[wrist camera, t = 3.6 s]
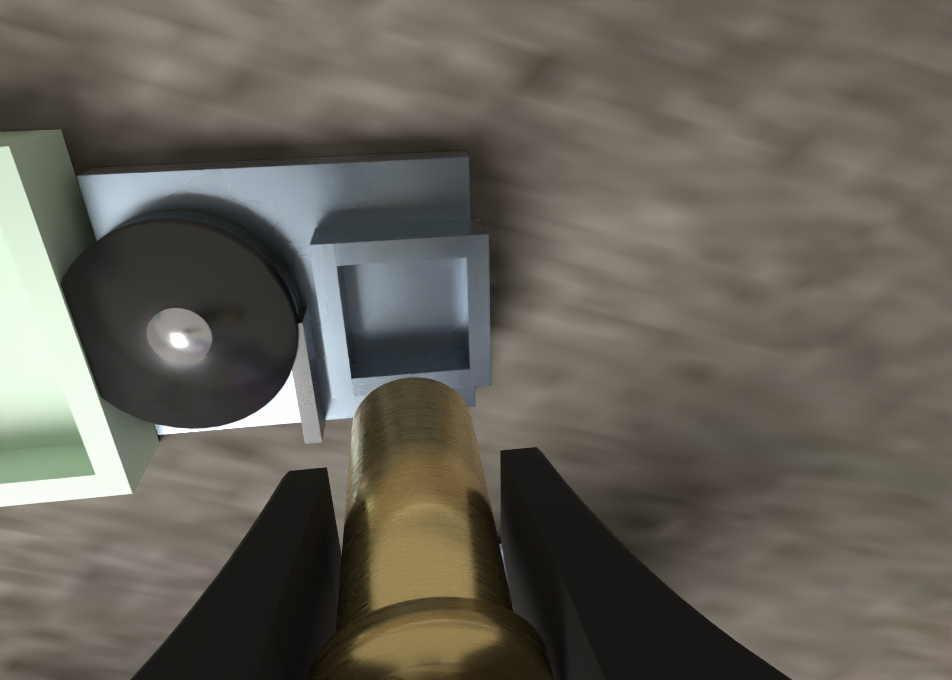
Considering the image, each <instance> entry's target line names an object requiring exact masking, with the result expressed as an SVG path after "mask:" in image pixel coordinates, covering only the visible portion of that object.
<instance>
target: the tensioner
mask: <svg viewBox="0 0 952 680" xmlns="http://www.w3.org/2000/svg"><path fill="white" fill-rule="evenodd" d="M77 179H78V182H79V185H80V189H81V192H82V195H83V198H84V201H85V205H86V208H87V211H88V214H89V217H90V220H91V224H92V227H93V230H94V233H95V236H96V240H97V241H96V242H95V243H93V244H92V245H91V246H89V247H88V248H87V249H86V250H85V251H83V252H82V253H81V254H80V255H79V256H78V257H77V258H76V259H75V261H74V262H73V263H72V264H71V265H70V267H69V268H68V270H67V272H66V273H65V275H64V277H63V279H62V281H61V284H60V285H61V288H62V290H63V293H64V296H65V299H66V302H67V305H68V307H69V310H70V313H71V316H72V319H73V322H74V324H75V327H76V330H77V333H78V336H79V338H80V341H81V344H82V347H83V350H84V353H85V355H86V358H87V361H88V364H89V367H90V370H91V372H92V375H93V378H94V381H95V384H96V387H97V389H98V392H99V395H100V397H102V398H103V399H104V400H105V401H107V402H108V403H110V404H111V405H113V406H115V407H116V408H118V409H119V410H121V411H123V412H125V413H128V414H130V415H132V416H134V417H136V418H139V419H142V420H144V421H147V422H150V423H154V424H155V428H156V431H157V434H158V435H162V434H173V433H184V432H195V431H207V430H218V429H229V428H240V427H252V426H263V425H274V424H285V423H297V422H301V423H302V429H303V434H304V440H305V444H309V443H320V442H322V440H323V433H324V427H325V420H330V419H342V418H353V417H354V415H355V413H356V410H357V408H358V407H359V405H360V403H361V402H362V401H363V400H364V399H365V397H366V396H367V395H369V394H370V393H371V392H372V391H373V390H375V389H376V388H378V387H380V386H381V385H383V384H385V383H388V382H390V381H393V380H397V379H401V378H408V377H420V378H428V379H433V380H436V381H439V382H442V383H444V384H446V385H448V386H449V387H451V388H452V389H454V390H455V391H456V392H457V393H459V394H460V396H461V397H462V398H463V399H464V401H465V402H466V404H467V405H468V407H476V399H475V386H486V385H491V356H490V280H489V233H488V231H487V229H486V227H485V225H484V223H483V221H482V219H481V218H477V219H471V212H470V175H469V156H468V155H467V153H466V151H465V150H463V151H442V152H420V153H399V154H377V155H356V156H334V157H313V158H291V159H269V160H248V161H226V162H205V163H183V164H162V165H140V166H119V167H97V168H91V169H89V170H87V171H85V172H83V173H81V174H79V175H77Z"/></svg>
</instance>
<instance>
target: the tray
mask: <svg viewBox="0 0 952 680" xmlns="http://www.w3.org/2000/svg"><path fill="white" fill-rule="evenodd" d="M95 242H96V239H95V236H94V233H93V230H92V227H91V223H90V220H89V217H88V214H87V211H86V208H85V204H84V201H83V198H82V195H81V192H80V188H79V185H78V182H77V179H76V176H75V173H74V169H73V166H72V163H71V160H70V157H69V153H68V150H67V147H66V144H65V141H64V138H63V134H62V131H61V129H59V130H34V131H9V132H0V506H11V505H21V504H31V503H41V502H51V501H62V500H72V499H82V498H92V497H103V496H113V495H123V494H132V493H133V491H134V490H135V488H136V486H137V484H138V482H139V480H140V479H141V477H142V475H143V473H144V471H145V469H146V467H147V466H148V464H149V462H150V460H151V458H152V456H153V455H154V453H155V451H156V449H157V447H158V445H159V440H158V436H157V433H156V430H155V427H154V424H153V423H150V422H147V421H144V420H142V419H139V418H136V417H134V416H132V415H130V414H128V413H125V412H123V411H121V410H119V409H118V408H116V407H115V406H113V405H111V404H110V403H108V402H107V401H105V400H104V399H103V398H102V397H100V395H99V392H98V389H97V387H96V384H95V381H94V378H93V375H92V372H91V370H90V367H89V364H88V361H87V358H86V355H85V353H84V350H83V347H82V344H81V341H80V338H79V336H78V333H77V330H76V327H75V324H74V322H73V319H72V316H71V313H70V310H69V307H68V305H67V302H66V299H65V296H64V293H63V290H62V288H61V285H60V284H61V281H62V279H63V277H64V275H65V273H66V272H67V270H68V268H69V267H70V265H71V264H72V263H73V262H74V261H75V259H76V258H77V257H78V256H79V255H80V254H81V253H82V252H83V251H85V250H86V249H87V248H88V247H89V246H91V245H92V244H93V243H95Z"/></svg>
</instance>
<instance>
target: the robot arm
mask: <svg viewBox="0 0 952 680" xmlns="http://www.w3.org/2000/svg"><path fill="white" fill-rule="evenodd" d="M499 545H500V550H501V554H502V559H503V563H504V568H505V573H506V577H507V582H508V586H509V591H510V596H511V600H512V605H513V609H514V613H516V614H518V615H519V616H521V617H522V618H524V619H525V620H526V621H527V622H528V623H530V624H531V625H532V626H533V627H534V628H535V629H536V631H537V632H538V633H539V635H540V636H541V638H542V640H543V642H544V644H545V646H546V649H547V653H548V657H549V661H550V665H551V669H552V673H553V677H554V680H792V679H790V678H789V677H787V676H786V675H784V674H783V673H781V672H780V671H779V670H777V669H776V668H774V667H773V666H771V665H770V664H768V663H767V662H766V661H764V660H763V659H761V658H760V657H758V656H757V655H755V654H754V653H752V652H751V651H750V650H748V649H747V648H745V647H744V646H742V645H741V644H739V643H738V642H737V641H735V640H734V639H733V638H731V637H730V636H729V635H727V634H726V633H725V632H723V631H722V630H721V629H720V628H718V627H717V626H716V625H714V624H713V623H712V622H710V621H709V620H708V619H706V618H705V617H704V616H703V615H702V614H700V613H699V612H698V611H697V610H695V609H694V608H693V607H692V606H691V605H689V604H688V603H687V602H686V601H684V600H683V599H682V598H681V597H680V596H678V595H677V594H676V593H675V592H674V591H673V590H672V589H670V588H669V587H668V586H667V585H666V584H665V583H664V582H662V581H661V580H660V579H659V578H658V577H657V576H656V575H655V574H654V573H652V572H651V571H650V570H649V569H648V568H647V567H646V566H645V565H644V564H643V563H642V562H641V561H640V560H639V559H638V558H637V557H636V556H634V555H633V554H632V553H631V552H630V551H629V550H628V549H627V548H626V547H625V546H624V545H623V544H622V543H621V542H620V541H619V540H618V539H617V538H616V537H615V536H614V535H613V534H612V533H611V532H610V530H609V529H608V528H607V527H606V526H605V525H604V524H603V523H602V522H601V521H600V520H599V519H598V518H597V517H596V516H595V515H594V514H593V512H592V511H591V510H590V509H589V508H588V507H587V506H586V505H585V504H584V503H583V501H582V500H581V499H580V498H579V497H578V496H577V495H576V493H575V492H574V491H573V490H572V489H571V488H570V486H569V485H568V484H567V483H566V482H565V480H564V479H563V478H562V477H561V476H560V474H559V473H558V472H557V471H556V469H555V468H554V467H553V466H552V464H551V463H550V462H549V461H548V459H547V458H546V457H545V455H544V454H543V453H542V452H541V451H540V450H539V449H538V448H536V447H533V448H523V449H513V450H502V451H501V544H499ZM341 559H342V556H341V550H340V544H339V538H338V532H337V526H336V520H335V514H334V508H333V502H332V496H331V490H330V484H329V478H328V472H327V467H326V468H316V469H305V470H295V471H289V472H288V473H287V474H286V475H285V476H284V477H283V478H282V480H281V481H280V483H279V485H278V486H277V488H276V490H275V491H274V493H273V494H272V496H271V498H270V499H269V501H268V502H267V504H266V506H265V507H264V509H263V510H262V512H261V513H260V515H259V516H258V518H257V519H256V521H255V522H254V524H253V525H252V527H251V528H250V530H249V531H248V533H247V534H246V536H245V537H244V539H243V540H242V541H241V543H240V544H239V546H238V547H237V549H236V550H235V551H234V553H233V554H232V556H231V557H230V558H229V560H228V561H227V563H226V564H225V565H224V567H223V568H222V570H221V571H220V572H219V574H218V575H217V576H216V578H215V579H214V580H213V582H212V583H211V584H210V586H209V587H208V588H207V589H206V591H205V592H204V593H203V594H202V596H201V597H200V598H199V599H198V601H197V602H196V603H195V605H194V606H193V607H192V608H191V610H190V611H189V612H188V613H187V615H186V616H185V617H184V618H183V620H182V621H181V622H180V624H179V625H178V626H177V627H176V628H175V630H174V631H173V632H172V633H171V634H170V635H169V637H168V638H167V639H166V640H165V641H164V643H163V644H162V645H161V646H160V647H159V648H158V649H157V651H156V652H155V653H154V654H153V655H152V656H151V657H150V659H149V660H148V661H147V662H146V663H145V664H144V665H143V666H142V667H141V669H140V670H139V671H138V672H137V673H136V674H135V675H134V676H133V677H132V678H131V679H130V680H306V678H307V674H308V671H309V667H310V665H311V663H312V661H313V659H314V657H315V656H316V654H317V653H318V652H319V650H320V649H321V647H322V646H323V645H324V644H325V643H326V642H327V641H328V640H329V639H330V638H331V637H332V636H333V635H334V634H335V633H336V621H337V609H338V596H339V584H340V572H341Z"/></svg>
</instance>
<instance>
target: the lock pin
mask: <svg viewBox="0 0 952 680" xmlns="http://www.w3.org/2000/svg"><path fill="white" fill-rule="evenodd" d="M306 680H554V677H553V673H552V669H551V665H550V661H549V657H548V653H547V649H546V646H545V644H544V642H543V640H542V638H541V636H540V635H539V633H538V632H537V631H536V629H535V628H534V627H533V626H532V625H531V624H530V623H528V622H527V621H526V620H525V619H524V618H522V617H521V616H519V615H518V614H516V613H514V609H513V605H512V600H511V596H510V591H509V586H508V582H507V577H506V573H505V568H504V563H503V559H502V554H501V550H500V545H499V540H498V536H497V531H496V527H495V522H494V517H493V513H492V508H491V504H490V499H489V494H488V490H487V485H486V481H485V476H484V471H483V467H482V462H481V458H480V453H479V448H478V444H477V439H476V435H475V430H474V425H473V421H472V416H471V413H470V410H469V408H468V405H467V404H466V402H465V401H464V399H463V398H462V397H461V396H460V394H459V393H457V392H456V391H455V390H454V389H452V388H451V387H449V386H448V385H446V384H444V383H442V382H439V381H436V380H433V379H428V378H420V377H408V378H401V379H397V380H393V381H390V382H388V383H385V384H383V385H381V386H380V387H378V388H376V389H375V390H373V391H372V392H371V393H370V394H369V395H367V396H366V397H365V399H364V400H363V401H362V402H361V403H360V405H359V407H358V408H357V410H356V413H355V415H354V419H353V424H352V436H351V448H350V460H349V473H348V485H347V497H346V510H345V522H344V534H343V547H342V559H341V572H340V584H339V596H338V609H337V621H336V633H335V634H334V635H333V636H332V637H331V638H330V639H329V640H328V641H327V642H326V643H325V644H324V645H323V646H322V647H321V649H320V650H319V652H318V653H317V654H316V656H315V657H314V659H313V661H312V663H311V665H310V667H309V671H308V674H307V678H306Z"/></svg>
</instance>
